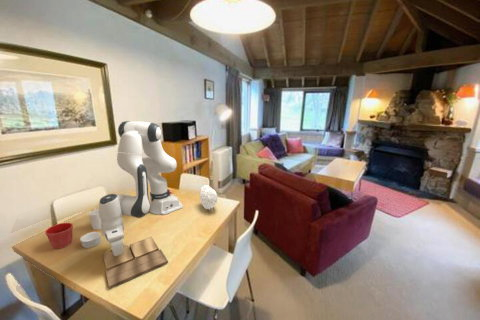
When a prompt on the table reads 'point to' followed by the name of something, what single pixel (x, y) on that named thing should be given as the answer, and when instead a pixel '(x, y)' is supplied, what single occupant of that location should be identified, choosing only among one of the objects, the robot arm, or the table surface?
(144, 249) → the plank
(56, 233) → the flower pot
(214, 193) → the white lumpy rounded piece
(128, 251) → the plank
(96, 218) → the white cup
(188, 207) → the table surface
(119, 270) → the floor strip
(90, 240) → the ramekin
